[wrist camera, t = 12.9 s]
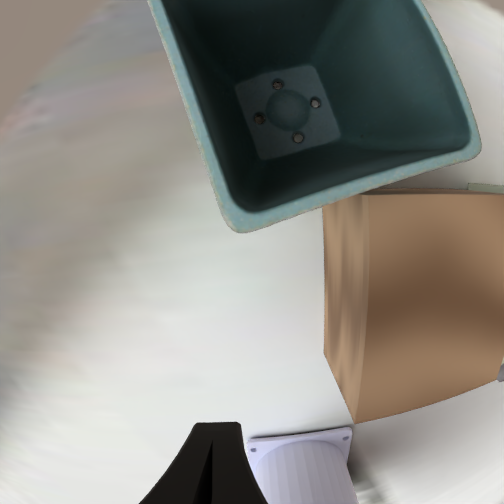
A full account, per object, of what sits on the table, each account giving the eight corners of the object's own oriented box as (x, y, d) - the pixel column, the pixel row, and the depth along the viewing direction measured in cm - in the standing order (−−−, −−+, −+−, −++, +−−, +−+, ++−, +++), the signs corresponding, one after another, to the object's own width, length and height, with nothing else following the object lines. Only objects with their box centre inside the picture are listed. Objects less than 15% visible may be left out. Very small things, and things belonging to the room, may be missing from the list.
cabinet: (441, 332, 19) (496, 379, 12) (323, 353, 19) (354, 424, 12) (451, 188, 17) (526, 196, 10) (321, 190, 17) (368, 195, 10)
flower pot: (330, 30, 15) (385, -59, 6) (383, 164, 16) (488, 155, 8) (187, 67, 15) (140, -20, 6) (238, 211, 17) (230, 241, 8)
